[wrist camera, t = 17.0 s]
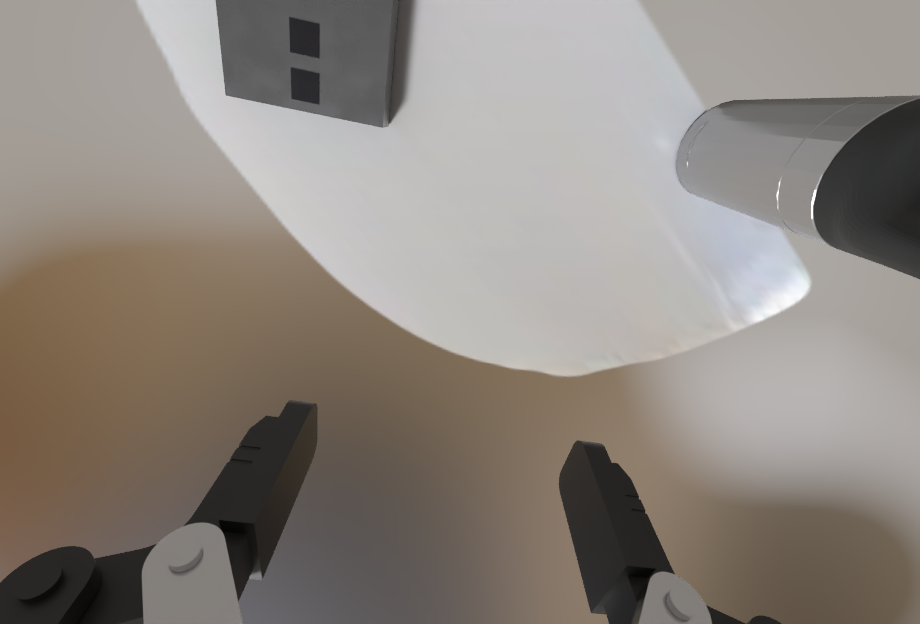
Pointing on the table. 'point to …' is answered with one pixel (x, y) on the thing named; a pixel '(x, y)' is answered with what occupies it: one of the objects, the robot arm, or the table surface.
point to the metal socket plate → (311, 55)
